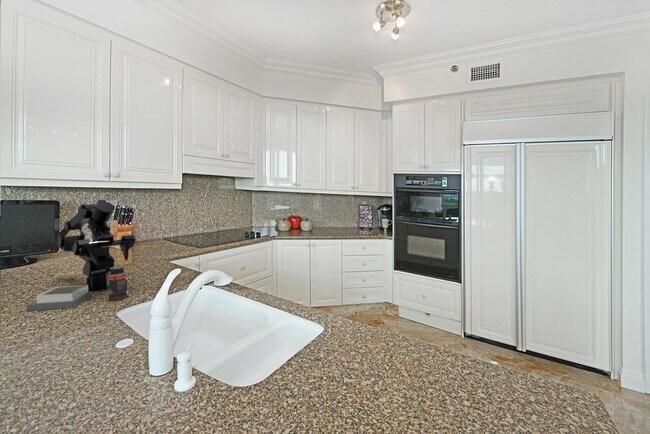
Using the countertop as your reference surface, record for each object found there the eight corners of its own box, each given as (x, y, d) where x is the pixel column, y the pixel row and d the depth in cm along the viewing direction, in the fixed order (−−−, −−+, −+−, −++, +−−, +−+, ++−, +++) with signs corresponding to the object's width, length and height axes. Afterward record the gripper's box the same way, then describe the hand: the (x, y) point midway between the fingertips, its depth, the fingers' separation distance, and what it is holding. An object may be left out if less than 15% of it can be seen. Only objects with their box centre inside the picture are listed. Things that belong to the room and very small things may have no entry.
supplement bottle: (132, 295, 112) (130, 265, 111) (120, 301, 106) (118, 269, 105) (117, 294, 113) (115, 265, 112) (104, 300, 107) (102, 269, 106)
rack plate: (91, 296, 111) (90, 284, 111) (74, 307, 100) (73, 294, 100) (49, 299, 108) (48, 287, 108) (27, 311, 97) (25, 297, 97)
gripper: (122, 240, 128) (134, 269, 122) (65, 246, 113) (77, 280, 107) (129, 222, 122) (142, 252, 117) (70, 227, 107) (83, 261, 102)
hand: (112, 262), depth 111 cm, fingers open, 9 cm apart
